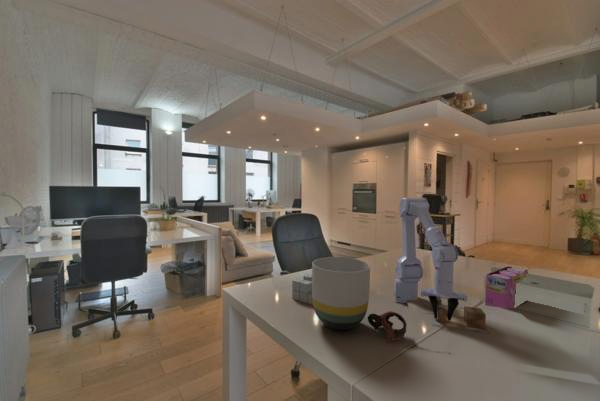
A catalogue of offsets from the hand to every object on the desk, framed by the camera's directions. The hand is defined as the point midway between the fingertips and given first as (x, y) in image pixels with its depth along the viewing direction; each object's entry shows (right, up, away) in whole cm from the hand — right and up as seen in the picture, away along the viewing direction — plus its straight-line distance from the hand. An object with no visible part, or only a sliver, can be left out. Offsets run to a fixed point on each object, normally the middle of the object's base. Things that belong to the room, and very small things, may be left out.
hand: (442, 318), depth 95 cm
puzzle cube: (-45, -1, +23) cm, 50 cm away
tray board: (+5, -2, +3) cm, 7 cm away
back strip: (+8, -2, +7) cm, 11 cm away
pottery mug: (-22, -2, -7) cm, 23 cm away
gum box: (+37, -3, +19) cm, 42 cm away
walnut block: (+9, -1, -3) cm, 10 cm away
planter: (-36, -2, -1) cm, 36 cm away
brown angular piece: (+5, -2, -2) cm, 6 cm away
